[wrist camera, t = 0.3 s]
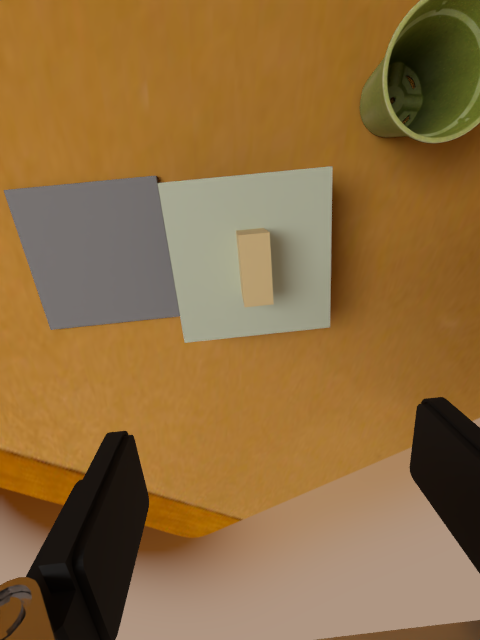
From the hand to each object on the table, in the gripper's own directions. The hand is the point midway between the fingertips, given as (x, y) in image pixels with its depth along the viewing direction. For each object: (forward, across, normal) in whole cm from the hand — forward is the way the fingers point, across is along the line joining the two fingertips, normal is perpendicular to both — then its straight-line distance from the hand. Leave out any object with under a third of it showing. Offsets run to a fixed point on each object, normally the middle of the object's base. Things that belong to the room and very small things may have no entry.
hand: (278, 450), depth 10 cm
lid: (+22, -1, -3) cm, 23 cm away
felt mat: (+27, +15, -4) cm, 31 cm away
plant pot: (+27, -16, -16) cm, 35 cm away
